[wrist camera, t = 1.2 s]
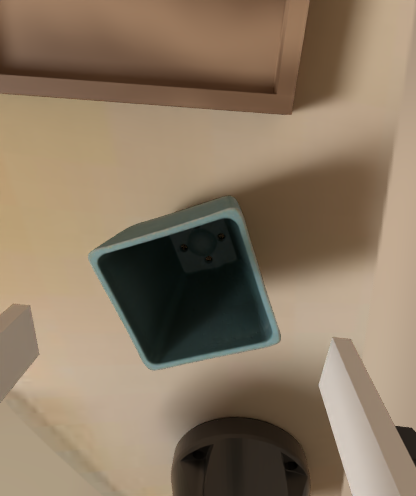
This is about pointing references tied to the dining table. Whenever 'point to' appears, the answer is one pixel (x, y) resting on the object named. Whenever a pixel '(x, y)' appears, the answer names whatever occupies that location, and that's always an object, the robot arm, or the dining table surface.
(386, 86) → the dining table surface
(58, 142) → the dining table surface
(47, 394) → the dining table surface
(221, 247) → the flower pot
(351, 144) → the dining table surface
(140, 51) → the holder tray
